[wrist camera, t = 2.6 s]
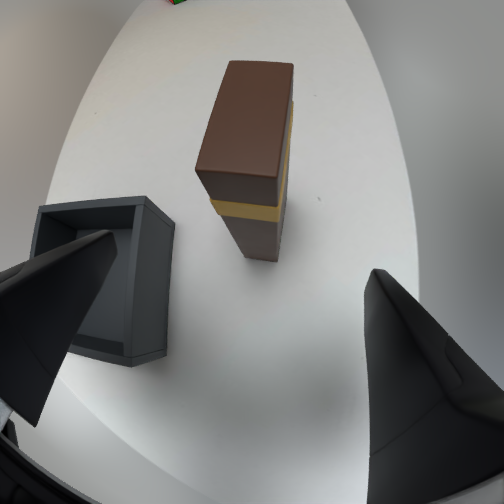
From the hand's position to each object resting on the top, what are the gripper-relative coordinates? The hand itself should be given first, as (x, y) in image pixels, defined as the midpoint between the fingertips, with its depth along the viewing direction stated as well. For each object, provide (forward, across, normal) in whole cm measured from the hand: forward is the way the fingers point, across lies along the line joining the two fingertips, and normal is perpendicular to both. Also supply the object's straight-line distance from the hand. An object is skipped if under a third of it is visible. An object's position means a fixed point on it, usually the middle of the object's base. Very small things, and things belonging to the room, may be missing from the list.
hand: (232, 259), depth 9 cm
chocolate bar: (+11, 0, +5) cm, 12 cm away
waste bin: (+7, +11, +9) cm, 16 cm away
